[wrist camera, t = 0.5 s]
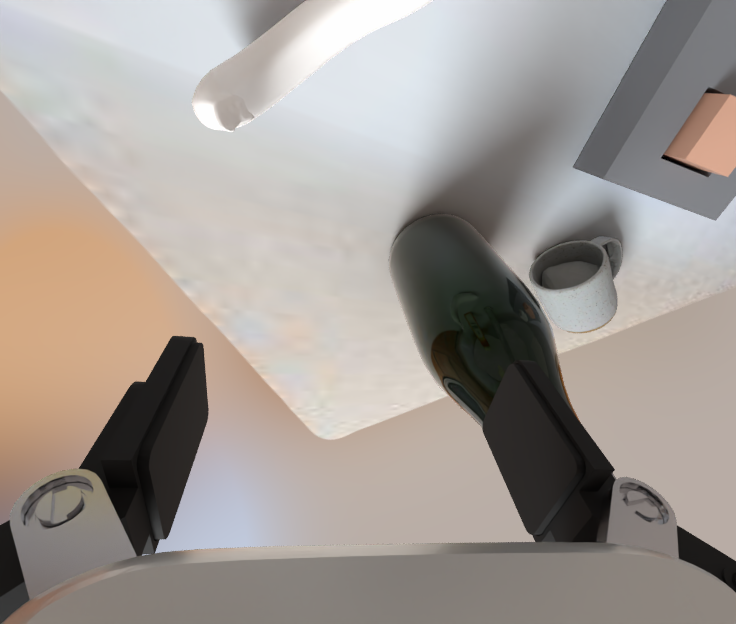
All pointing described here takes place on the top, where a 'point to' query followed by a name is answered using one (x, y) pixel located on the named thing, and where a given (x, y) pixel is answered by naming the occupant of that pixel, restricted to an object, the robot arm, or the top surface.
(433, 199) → the top surface
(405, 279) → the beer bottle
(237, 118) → the banana
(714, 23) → the key panel
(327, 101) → the top surface
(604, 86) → the top surface
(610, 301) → the ceramic mug
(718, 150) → the light orange cube
